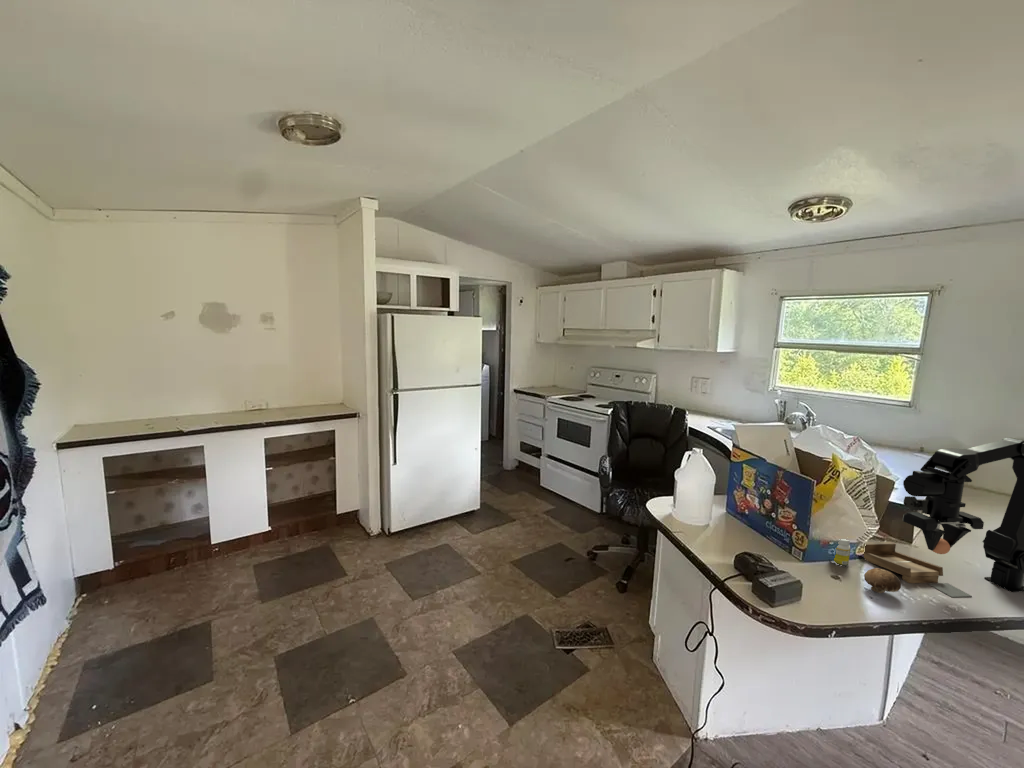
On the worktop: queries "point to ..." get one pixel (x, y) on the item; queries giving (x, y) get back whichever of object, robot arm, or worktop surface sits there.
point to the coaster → (949, 590)
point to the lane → (902, 563)
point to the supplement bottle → (842, 552)
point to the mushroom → (882, 580)
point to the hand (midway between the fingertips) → (938, 549)
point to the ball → (942, 547)
